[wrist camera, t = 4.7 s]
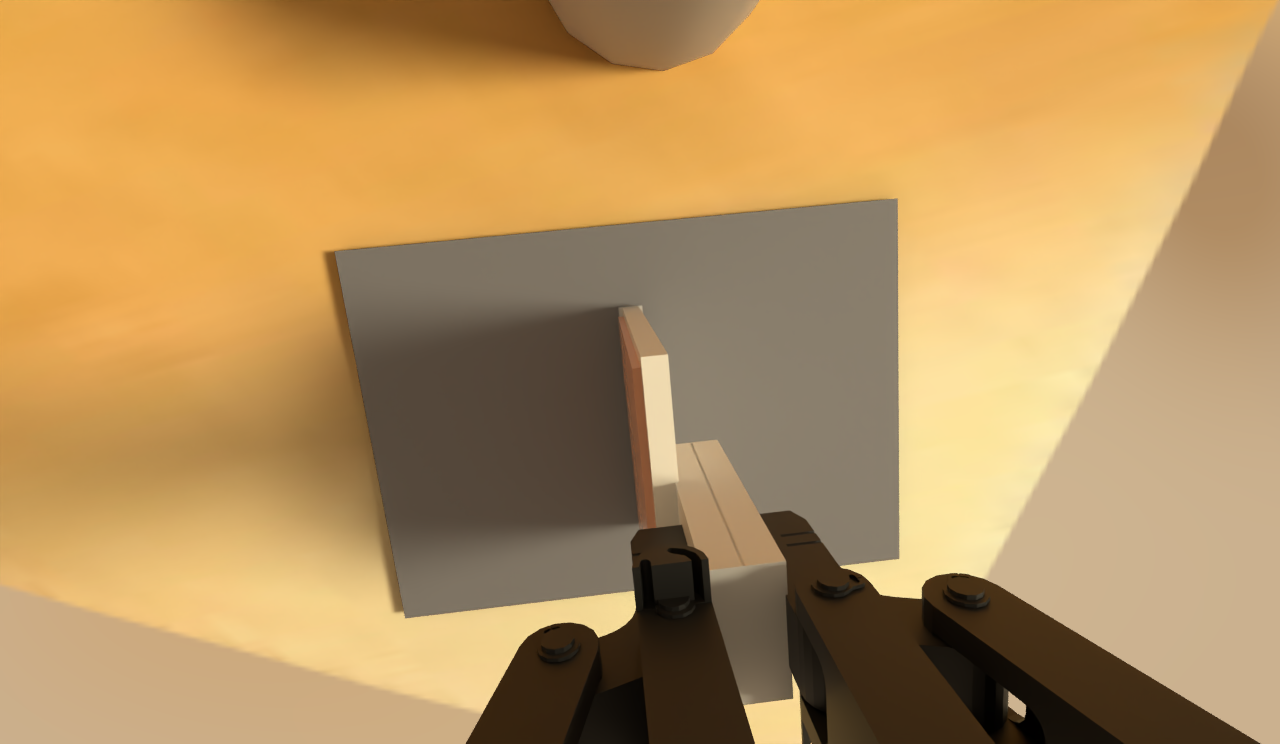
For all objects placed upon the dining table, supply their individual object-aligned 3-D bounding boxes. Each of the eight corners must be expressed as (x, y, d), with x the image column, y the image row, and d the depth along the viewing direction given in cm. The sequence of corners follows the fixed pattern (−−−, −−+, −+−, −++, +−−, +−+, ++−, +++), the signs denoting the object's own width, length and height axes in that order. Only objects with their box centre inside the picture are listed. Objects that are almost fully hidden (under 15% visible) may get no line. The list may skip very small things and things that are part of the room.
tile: (674, 353, 14) (631, 358, 14) (703, 708, 16) (665, 713, 16) (641, 304, 24) (616, 306, 24) (661, 522, 26) (638, 525, 26)
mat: (340, 251, 23) (334, 251, 23) (891, 199, 24) (897, 198, 24) (408, 611, 27) (405, 618, 26) (893, 552, 28) (899, 558, 27)
